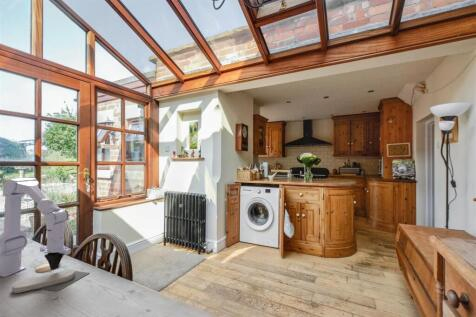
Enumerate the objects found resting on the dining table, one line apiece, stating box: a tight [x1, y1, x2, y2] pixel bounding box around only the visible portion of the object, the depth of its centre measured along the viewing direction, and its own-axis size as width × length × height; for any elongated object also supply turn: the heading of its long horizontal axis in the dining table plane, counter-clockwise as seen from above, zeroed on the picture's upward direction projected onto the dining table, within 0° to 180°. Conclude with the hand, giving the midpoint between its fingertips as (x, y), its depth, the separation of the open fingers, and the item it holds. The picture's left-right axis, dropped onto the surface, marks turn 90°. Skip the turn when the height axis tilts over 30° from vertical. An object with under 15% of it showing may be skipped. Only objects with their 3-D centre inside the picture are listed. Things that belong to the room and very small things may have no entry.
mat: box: [37, 270, 90, 292], centre depth 89 cm, size 12×14×1 cm
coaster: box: [34, 262, 61, 273], centre depth 99 cm, size 9×9×1 cm
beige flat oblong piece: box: [11, 268, 76, 294], centre depth 86 cm, size 20×2×8 cm
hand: (54, 269), depth 90 cm, fingers closed
